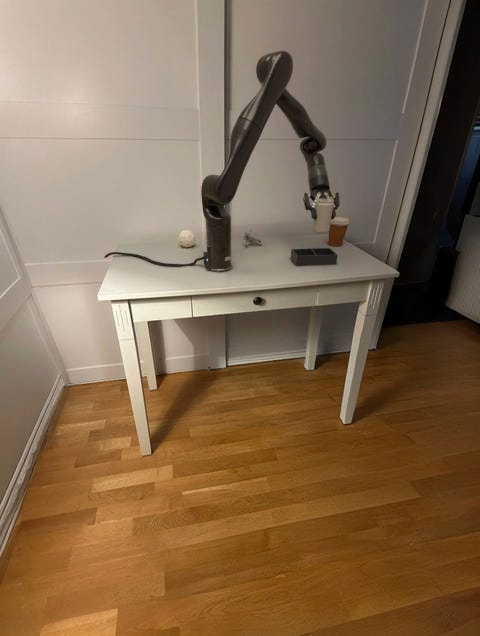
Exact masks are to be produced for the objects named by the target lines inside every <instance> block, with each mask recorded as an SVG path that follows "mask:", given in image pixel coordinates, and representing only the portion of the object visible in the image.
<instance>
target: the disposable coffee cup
mask: <svg viewBox="0 0 480 636" xmlns="http://www.w3.org/2000/svg"><path fill="white" fill-rule="evenodd" d="M350 223H351V222H350V219H349V218H348V217H346V216H345V217H344V216H335V218H334V219H332V220H331V223H330V229H329V232H328V241H327V243H328V245H329V246H331V247H341V246H343V242H344V239H345V236H346V234H347V230H348V227H349V225H350Z"/></svg>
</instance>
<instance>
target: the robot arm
mask: <svg viewBox="0 0 480 636" xmlns="http://www.w3.org/2000/svg"><path fill="white" fill-rule="evenodd" d="M293 72H294V60H293V57H292V55H291V53H290V52H288V51H287V50H277V51H274V52H270V53H267V54H264V55H262V56H261V57H259V59H258V61H257V63H256V67H255V74H256V79H257V81H258V83H259V85H260V86H261V87H260V89H259V91H258V92H256V94H255V95H254V97H253V98H252V99H251V100H250V101H249V102H248V103H247V104H246V106H244V108H243V109H242V111H241V112H240V113H239V115H238V117H237V119H236V121H235V122H234V125H233V127H232V129H231V132H230V134H229V135H230V136H229V147H228V148H229V150H228V152H229V153H228V158H227V162H226V164H225V166H224V168H223V170H222V172H221V173H220V174H219V175H218V174H208V175H206V176H205V177H204V178H203V180H202V183H201V186H200V197H201V206H202V214H203V217H204V220H205V235H206V239H205V240H206V242H205V243H206V251H203V253H202V255H203V256H201V257H198V258H196V259H194V260H193V262H189V263H169V262H167V263H166V262H160V261H157V260H154V259H151V258H149V257H147V256H144V255H141V254H137V253H131V252H121V251H112V252H108V253H106V254H105V255H104V256H103V258H104V259H107V258H109V257H110V256H112V255H121V256H127V257H128V256H129V257H135V258H140V259H143V260H144V261H147V262H150V263H152V264H155V265H159V266H165V267H190V266H191V267H192V266H194V265H196V264H197V262H199V261H203V265H206V266H207V267H206V268H207V271H212V272H218V273H219V272H227V271H229V270H231V269H232V216H231V214H230V213H229V212H228V211H227V209H226V207H225V206H227V205H229V204H230V203H231V202H232V201H233V200H234V198H235V196H236V193H237V191H238V189H239V188H238V187H239V186H240V183H241V180H242V177H243V175H244V171H245V169H246V168H247V165H248V163H249V161H250V158H251V156H252V154H253V152H254V150H255V148H256V146H257V144H258V141H259V140H260V138H261V136H262V134H263V131H264V129H265V127H266V125H267V123H268V121H269V119H270V116H271V114H272V113H273V110H274V108H275V106H277V107H278V108H279V110H280V111H281V112H282V114H283V115H284V116H285V118H286V120H287V122H288V123H289V125H290V127H291V129H292V130H293V132H294V134H295V136H296V137H297V138H298V139H302V140H301V141H300V142H299V147H298V148H299V149H298V150H299V152H300V155H301V156H302V157H303V159H304V162H305V165H306V170H307V182H308V189H309V193H307V192H304V193H303V196H302V201H303V205H304V209H305V211H309V212H310V216H311V219H312V220H313V221H314V220H316V218H317V213H316V208H315V207H316V202H317V200H318V199H331V200H333V210H332V217H331V220H332V219H334V218H335V217H337V212H336V211H337V210H338V209H339V207H340V206H341V205H340V204H341V203H340V193H339V192H335V193H332V192H331V186H330V181H329V174H328V171H327V167H326V161H325V157H324V155H323V154H322V153H320V152H322V151H324V150H325V149H326V147H327V143H328V142H327V138H326V135H325V134H324V133H323V132H322V131H321V130H320V129H319V128H318V127H317V126H316V125H315V124H314V122H313V121H312V119H311V117H310V115H309V113H308V111H307V109H306V107H304V105H303V104H302V103H301V102H300V101H299V100H298V99H297V98H296V97H295V96H293V94H291V93H290V92H289V90H288V89H287V86H288V85H289V83H290V81H291V79H292V75H293ZM310 200H312V201H313V202H312V204H311V202H310Z"/></svg>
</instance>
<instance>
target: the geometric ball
mask: <svg viewBox="0 0 480 636" xmlns="http://www.w3.org/2000/svg"><path fill="white" fill-rule="evenodd" d="M177 239H178V243H179V244H180V245H181V246H182V247H184V248H191V247H193V246H194V245H195V243H196V240H197V239H196V236H195V233H194V232H193V231H191V230H190V229H183V230H181V232H180V233H179V234H178V238H177Z"/></svg>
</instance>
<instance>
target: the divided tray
mask: <svg viewBox="0 0 480 636" xmlns="http://www.w3.org/2000/svg"><path fill="white" fill-rule="evenodd" d="M289 259H290V260H291V262H292V263H293V264H294V266H295V267H304V266H306V267H307V266H326V265H327V266H332V265H333V266H335V265H337V262H338V254H337V253H336V252H335V251H334V250H333V249H332V248H331V247H315V248H314V247H313V248H291V249H290V258H289Z"/></svg>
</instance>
